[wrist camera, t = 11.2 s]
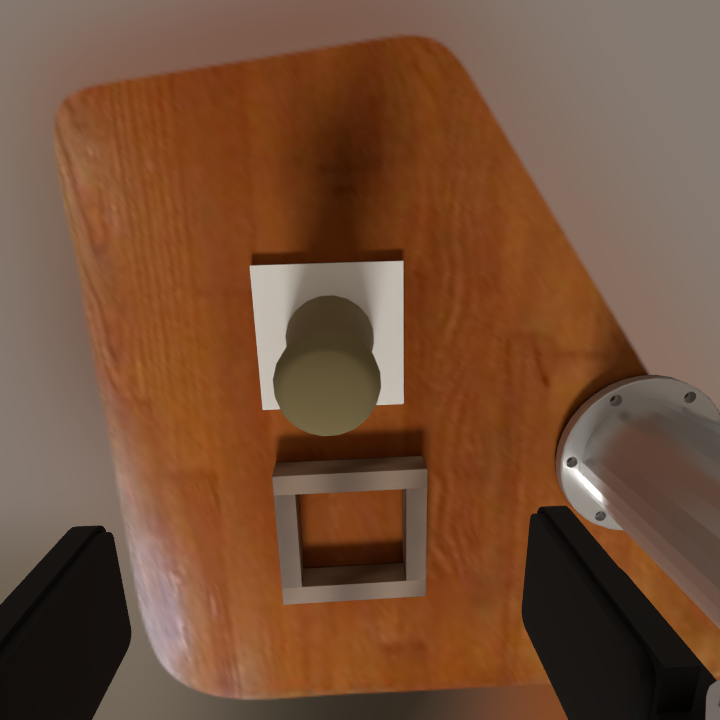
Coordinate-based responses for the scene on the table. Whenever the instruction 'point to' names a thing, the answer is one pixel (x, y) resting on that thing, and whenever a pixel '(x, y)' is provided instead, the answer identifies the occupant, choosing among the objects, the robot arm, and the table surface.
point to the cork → (327, 367)
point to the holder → (359, 578)
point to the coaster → (343, 279)
